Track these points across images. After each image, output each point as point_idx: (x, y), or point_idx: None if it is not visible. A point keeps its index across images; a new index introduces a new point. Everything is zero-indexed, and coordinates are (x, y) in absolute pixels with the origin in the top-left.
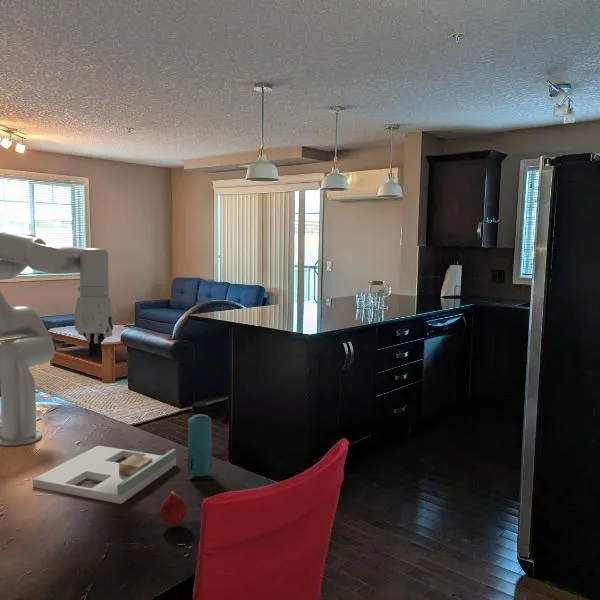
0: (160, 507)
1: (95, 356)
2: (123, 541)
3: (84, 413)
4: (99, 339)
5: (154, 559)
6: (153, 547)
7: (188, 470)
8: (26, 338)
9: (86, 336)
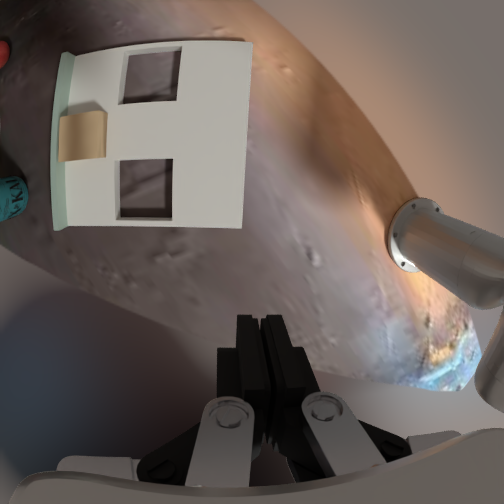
0: (1, 43)
1: (237, 330)
2: (43, 9)
3: (374, 372)
4: (191, 442)
5: (12, 12)
6: (16, 22)
7: (21, 181)
8: None
9: (363, 438)
